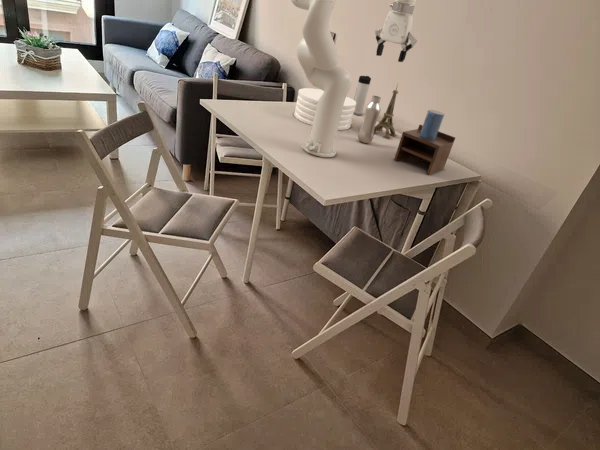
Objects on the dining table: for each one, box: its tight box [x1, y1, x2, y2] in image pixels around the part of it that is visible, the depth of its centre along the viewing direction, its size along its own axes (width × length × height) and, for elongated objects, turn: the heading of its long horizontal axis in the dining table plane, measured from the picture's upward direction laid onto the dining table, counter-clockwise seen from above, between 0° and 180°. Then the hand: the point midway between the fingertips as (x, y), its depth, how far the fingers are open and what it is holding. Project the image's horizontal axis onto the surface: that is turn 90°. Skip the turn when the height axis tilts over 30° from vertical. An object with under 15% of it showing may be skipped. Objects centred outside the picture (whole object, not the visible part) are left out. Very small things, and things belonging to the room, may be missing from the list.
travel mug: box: [353, 75, 372, 116], centre depth 225 cm, size 6×7×20 cm
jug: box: [420, 109, 446, 140], centre depth 164 cm, size 10×6×10 cm, turn 138°
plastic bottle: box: [357, 95, 382, 144], centre depth 180 cm, size 6×7×20 cm
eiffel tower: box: [374, 84, 399, 140], centre depth 198 cm, size 11×11×25 cm
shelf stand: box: [393, 124, 456, 176], centre depth 169 cm, size 14×16×14 cm
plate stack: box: [293, 87, 356, 131], centre depth 201 cm, size 28×28×12 cm
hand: (389, 58), depth 161 cm, fingers open, 9 cm apart
